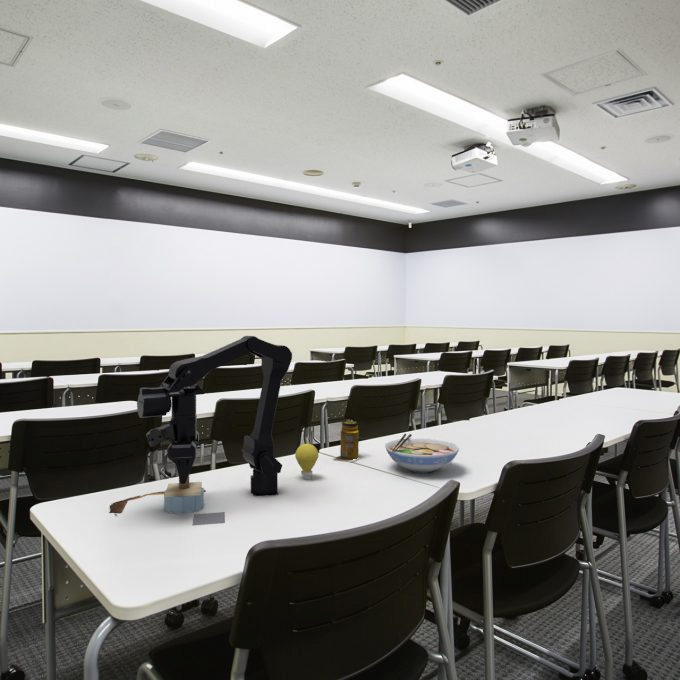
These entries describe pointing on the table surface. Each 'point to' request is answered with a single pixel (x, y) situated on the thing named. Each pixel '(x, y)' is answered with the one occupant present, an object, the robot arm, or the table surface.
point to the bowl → (184, 503)
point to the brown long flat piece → (120, 505)
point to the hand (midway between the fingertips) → (184, 478)
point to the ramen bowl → (421, 453)
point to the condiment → (349, 442)
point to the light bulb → (306, 459)
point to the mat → (209, 518)
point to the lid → (183, 489)
